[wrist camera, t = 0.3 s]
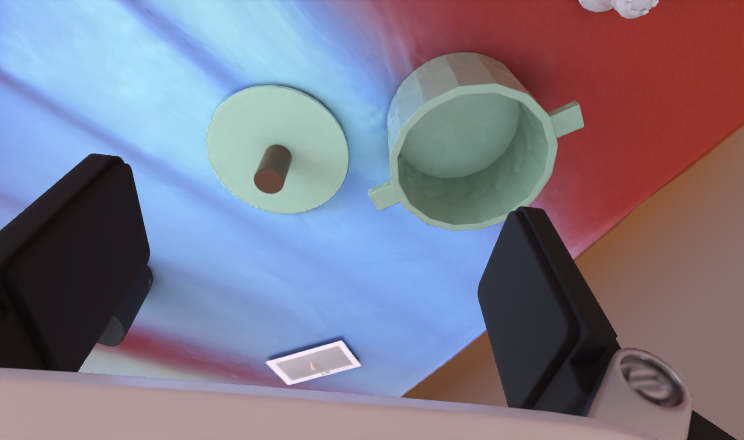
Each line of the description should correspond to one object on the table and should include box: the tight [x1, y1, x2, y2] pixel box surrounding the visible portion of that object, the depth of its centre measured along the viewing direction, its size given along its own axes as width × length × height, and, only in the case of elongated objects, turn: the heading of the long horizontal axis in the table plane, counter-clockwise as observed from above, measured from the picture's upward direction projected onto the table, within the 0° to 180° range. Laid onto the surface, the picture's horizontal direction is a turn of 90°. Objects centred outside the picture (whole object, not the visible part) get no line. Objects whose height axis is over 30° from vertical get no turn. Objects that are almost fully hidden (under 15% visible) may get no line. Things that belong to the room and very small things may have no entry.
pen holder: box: [97, 266, 153, 346], centre depth 58 cm, size 9×9×10 cm
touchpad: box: [266, 340, 361, 385], centre depth 74 cm, size 8×15×2 cm, turn 114°
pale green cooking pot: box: [369, 52, 584, 231], centre depth 44 cm, size 16×21×10 cm
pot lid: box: [206, 85, 349, 214], centre depth 47 cm, size 17×17×7 cm
